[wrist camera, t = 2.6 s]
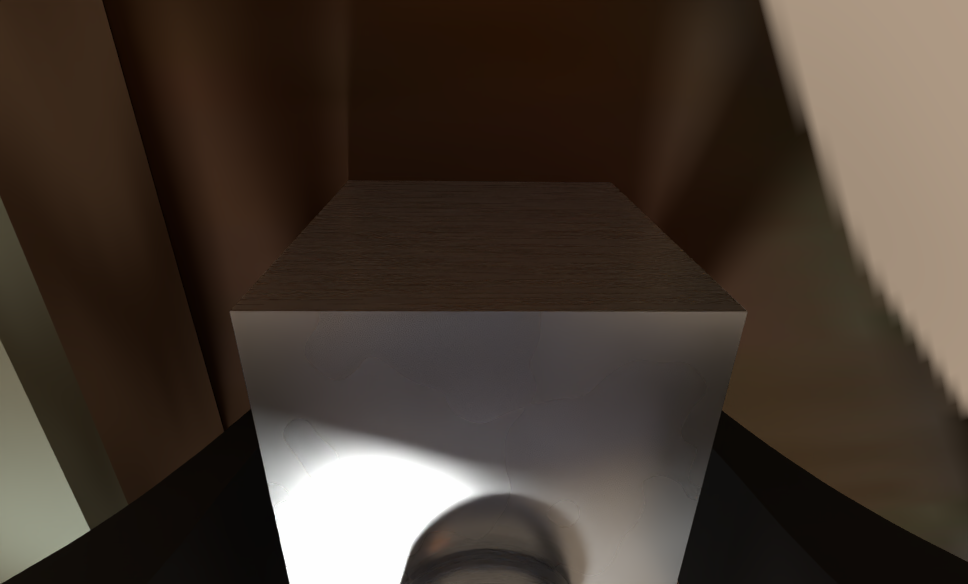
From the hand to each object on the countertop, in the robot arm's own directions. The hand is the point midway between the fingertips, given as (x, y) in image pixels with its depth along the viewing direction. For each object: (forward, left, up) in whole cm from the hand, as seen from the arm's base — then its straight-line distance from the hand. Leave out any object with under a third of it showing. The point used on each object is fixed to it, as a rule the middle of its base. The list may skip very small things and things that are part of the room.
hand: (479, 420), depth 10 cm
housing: (0, 0, -2) cm, 2 cm away
